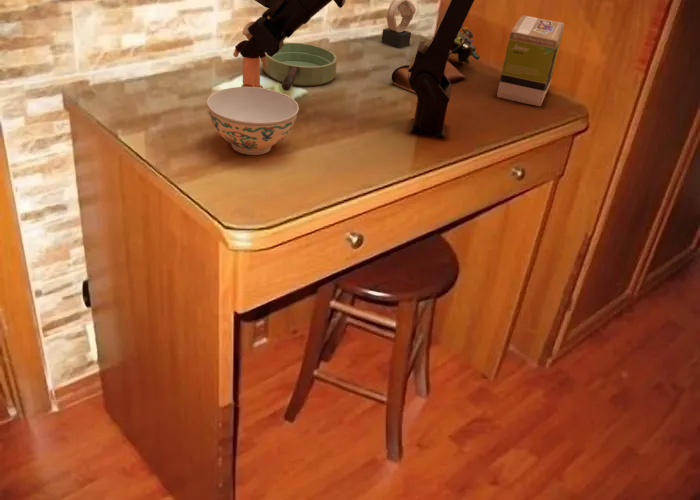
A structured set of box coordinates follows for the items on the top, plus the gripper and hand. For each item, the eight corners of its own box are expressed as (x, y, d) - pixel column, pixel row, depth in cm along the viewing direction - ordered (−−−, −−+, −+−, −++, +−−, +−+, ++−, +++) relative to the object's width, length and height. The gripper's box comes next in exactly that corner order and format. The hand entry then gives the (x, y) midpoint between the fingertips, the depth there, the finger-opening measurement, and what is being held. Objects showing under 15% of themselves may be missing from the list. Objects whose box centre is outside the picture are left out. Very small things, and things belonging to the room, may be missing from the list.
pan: (330, 91, 150) (332, 71, 148) (257, 80, 150) (258, 60, 148) (338, 67, 163) (340, 48, 160) (271, 57, 163) (272, 38, 161)
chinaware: (247, 120, 133) (249, 80, 129) (312, 147, 127) (316, 106, 123) (187, 144, 123) (187, 101, 118) (255, 175, 116) (257, 131, 112)
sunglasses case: (421, 93, 153) (413, 62, 152) (396, 100, 158) (388, 70, 157) (468, 77, 165) (460, 47, 164) (443, 84, 170) (436, 55, 169)
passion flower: (455, 85, 177) (491, 53, 169) (429, 85, 169) (466, 52, 161) (433, 47, 179) (468, 14, 172) (407, 45, 171) (442, 11, 164)
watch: (413, 43, 183) (420, -1, 177) (394, 49, 178) (401, 3, 172) (395, 37, 186) (402, -7, 180) (376, 42, 180) (382, -3, 174)
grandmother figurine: (272, 89, 141) (276, 23, 134) (264, 95, 138) (267, 28, 131) (236, 80, 143) (238, 15, 136) (227, 86, 140) (228, 19, 133)
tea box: (506, 77, 170) (522, 13, 162) (549, 86, 168) (567, 22, 160) (494, 97, 158) (510, 29, 150) (541, 108, 155) (559, 39, 147)
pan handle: (289, 92, 140) (290, 84, 139) (280, 91, 140) (281, 82, 139) (299, 74, 149) (299, 65, 148) (290, 72, 149) (291, 64, 148)
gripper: (287, -48, 135) (229, 5, 142) (261, -26, 119) (197, 31, 126) (326, 2, 139) (267, 50, 146) (305, 29, 123) (240, 82, 130)
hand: (243, 52), depth 137 cm, fingers closed on grandmother figurine, 2 cm apart
